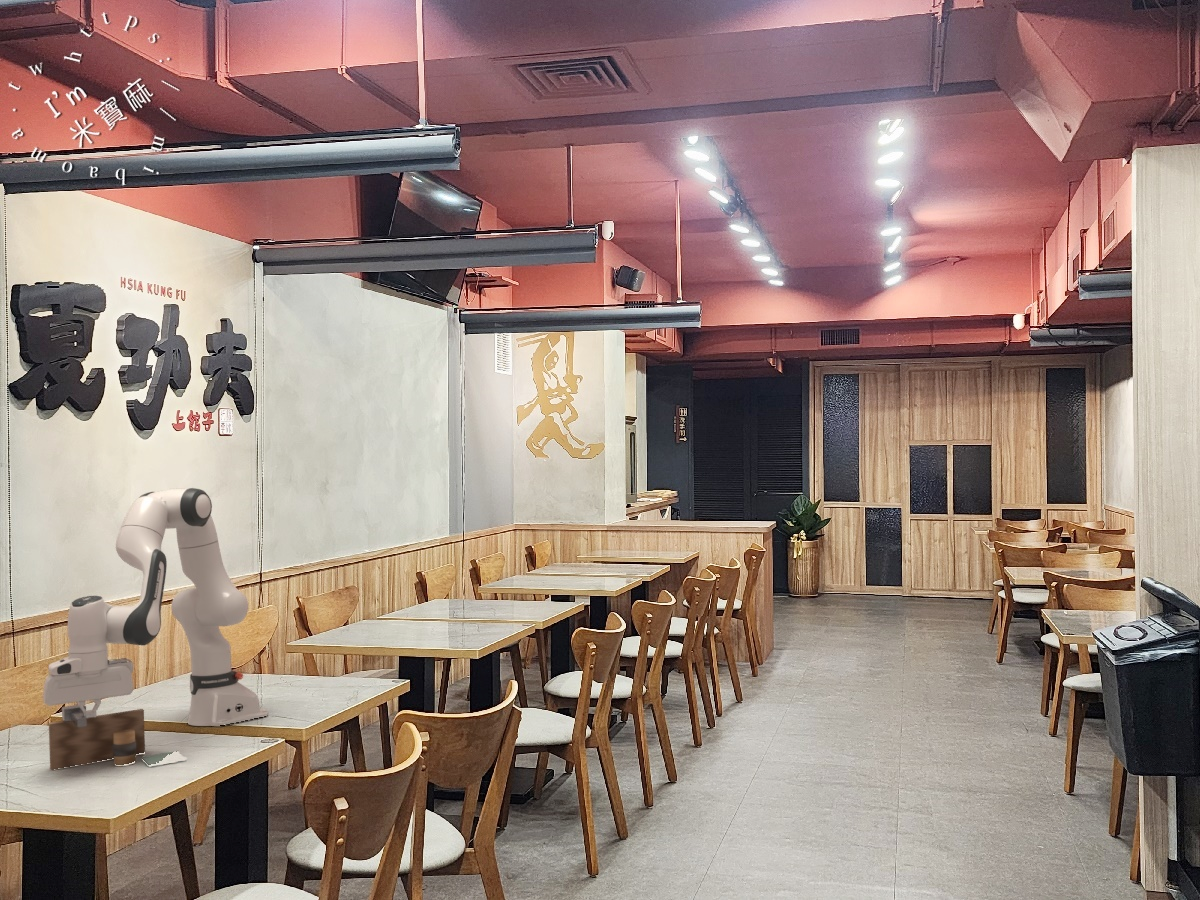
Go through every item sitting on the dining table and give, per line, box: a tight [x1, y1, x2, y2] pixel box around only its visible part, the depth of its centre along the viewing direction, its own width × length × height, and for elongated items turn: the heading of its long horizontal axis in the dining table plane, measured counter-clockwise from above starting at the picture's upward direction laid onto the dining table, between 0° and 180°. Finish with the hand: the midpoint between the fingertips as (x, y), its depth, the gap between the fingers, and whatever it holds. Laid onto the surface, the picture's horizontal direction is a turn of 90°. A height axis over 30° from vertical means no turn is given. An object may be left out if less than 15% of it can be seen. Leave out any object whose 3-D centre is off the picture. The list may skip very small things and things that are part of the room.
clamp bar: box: [61, 704, 87, 727], centre depth 264 cm, size 5×14×3 cm, turn 35°
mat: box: [140, 750, 178, 765], centre depth 270 cm, size 9×9×1 cm
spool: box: [113, 730, 137, 765], centre depth 269 cm, size 5×5×8 cm
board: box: [48, 708, 146, 771], centre depth 271 cm, size 22×2×12 cm, turn 125°
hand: (89, 718), depth 264 cm, fingers closed
